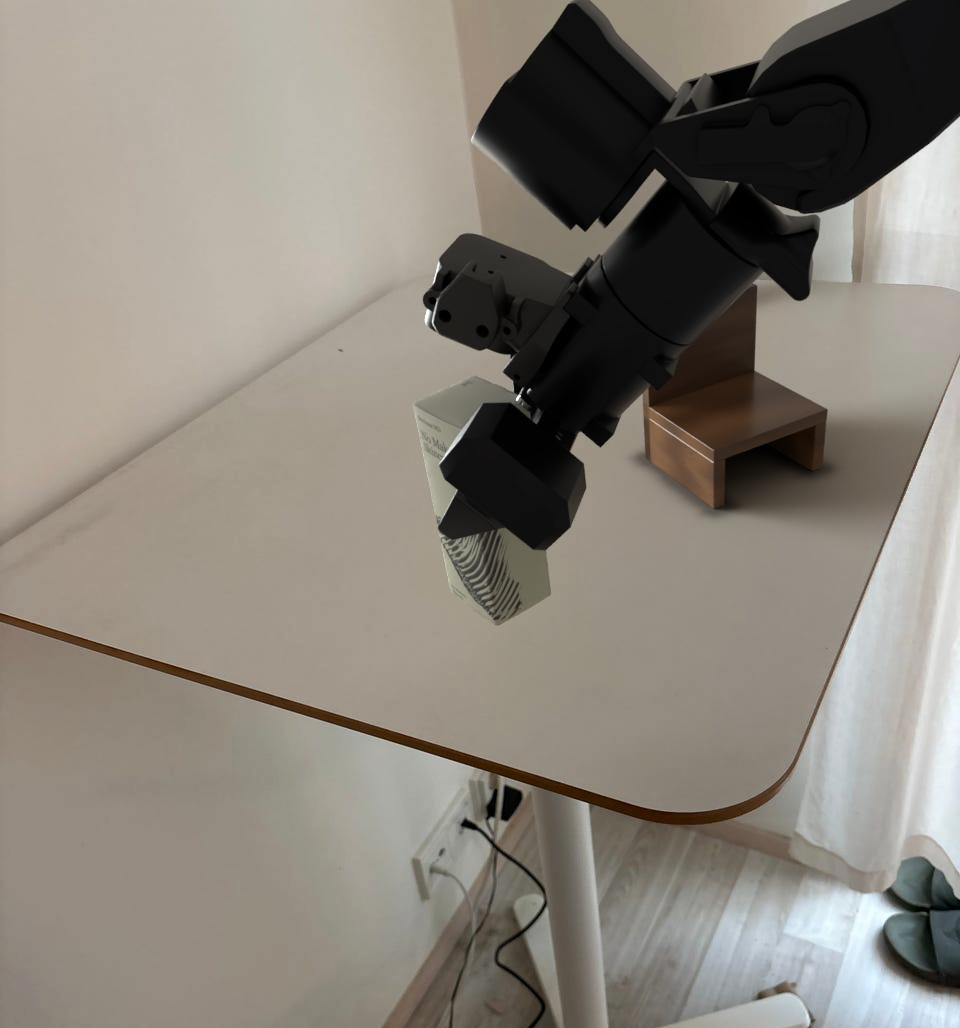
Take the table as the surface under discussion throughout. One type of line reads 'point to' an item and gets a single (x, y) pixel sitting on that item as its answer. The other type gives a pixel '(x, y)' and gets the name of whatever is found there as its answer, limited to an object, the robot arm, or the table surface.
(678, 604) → the table surface
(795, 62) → the robot arm
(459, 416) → the box
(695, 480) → the wooden doll chair
